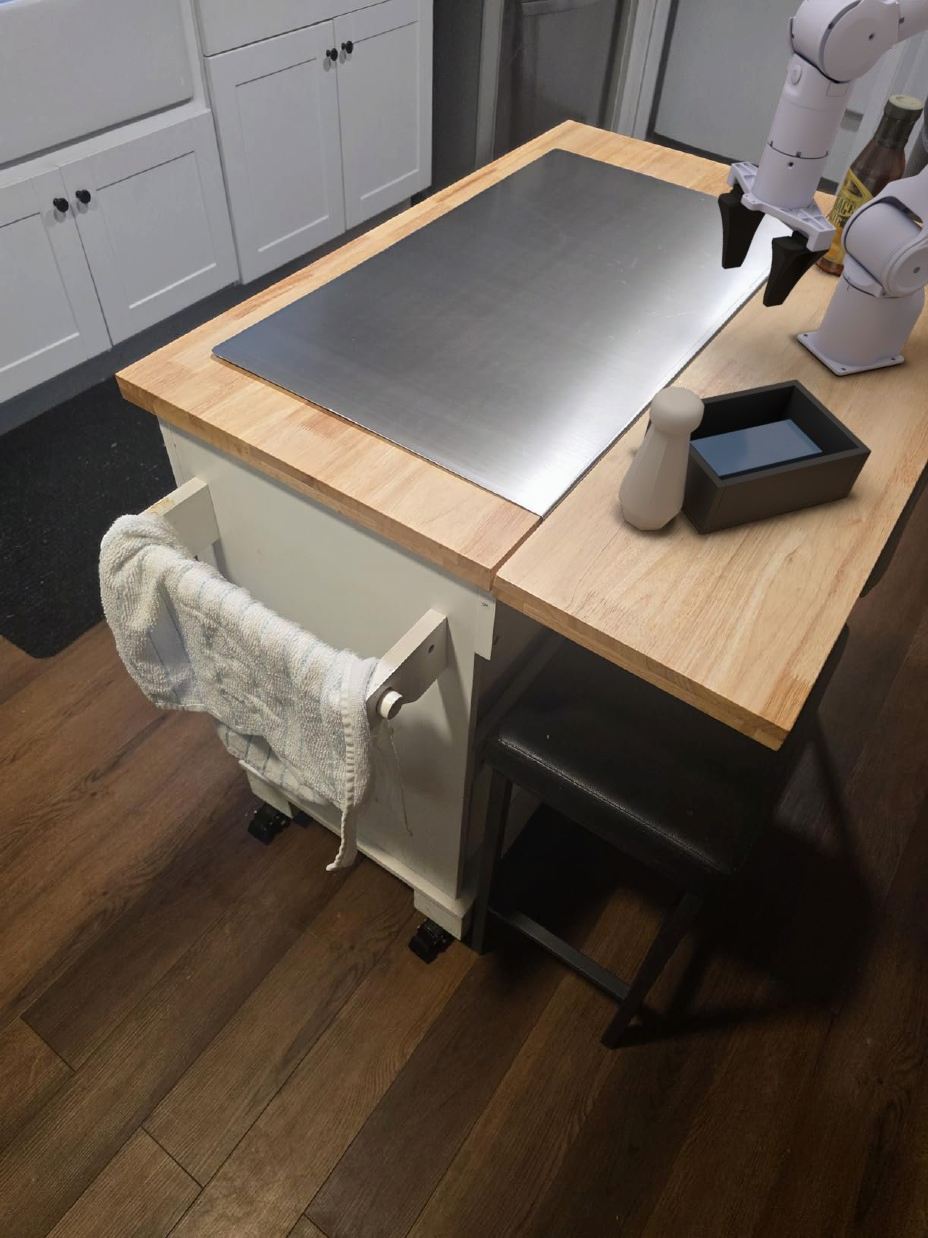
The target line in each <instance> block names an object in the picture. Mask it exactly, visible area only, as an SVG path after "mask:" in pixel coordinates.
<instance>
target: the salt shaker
mask: <svg viewBox="0 0 928 1238" xmlns="http://www.w3.org/2000/svg"><path fill="white" fill-rule="evenodd" d="M701 399H702V398H701V397H700V396H699V395H698V394H697V393H695V392H694V391H693V390H691V389H688V388H685V387H683V386H673V385H672V386H669V387H665V388H662V389H660V390H659V391H657V392H656V393H655V394H654V396H653V398H652V400H651V404H650V407H649V411H648V415H649V416H648V417H649V418H650V419H651V422H652V424H651V426H650V428H649V430H648V432H647V434H646V436H645V435H644V436H645V438H644V437H643V439H642V442H641V443H640V446H639V447H638V449H637V452H636V454H635V455H634V457H633V459H632V461H631V463H630V466H629V468H628V470H627V471H626V473H625V475H624V477H623V479H622V481H621V484H620V487H619V490H618V496H617V497H618V500H619V502H620V505H621V509H622V514H623V518H624V521H625V522H627V523H628V524H630V525H632V526H633V527H634V528H636V529H638V530H639V531H654V530H656V531H657V530H661V529H662V528H663V527H664V526H666V524H668V522H670V521H671V520H672V519H673V518H674V517H675V516H677V515H678V514H679V513H680V511H682V509H681V508H682V504H683V500H684V493H685V483H686V473H687V463H688V453H689V444H690V434H691V432H692V431H694V430H695V429H696V428H697V427H698V426H699V425H700V422H701V420H702V416H703V412H704V404H703V402H702V400H701Z"/></svg>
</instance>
